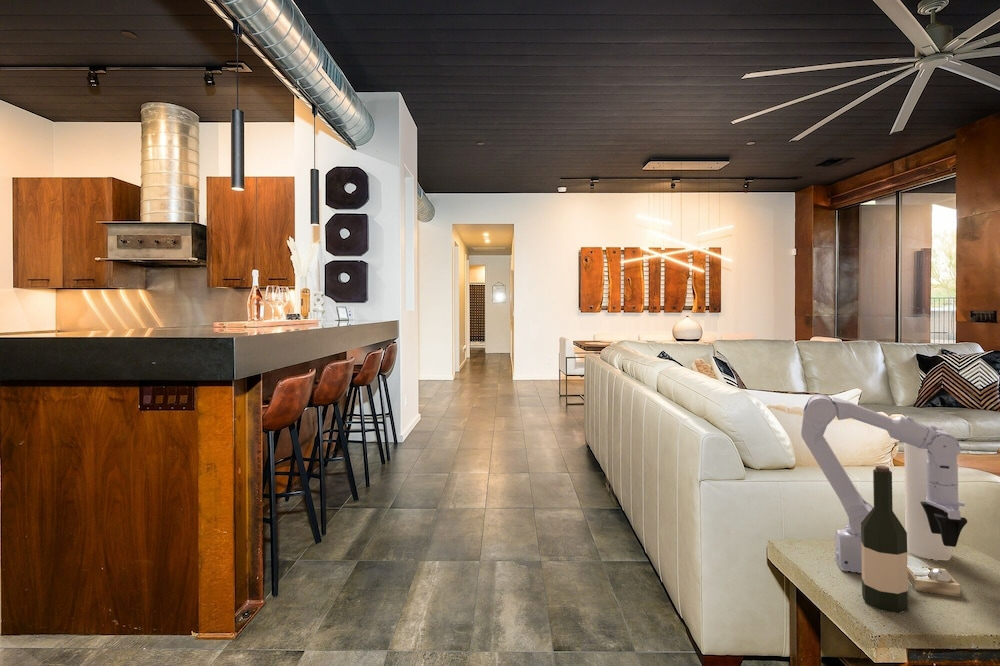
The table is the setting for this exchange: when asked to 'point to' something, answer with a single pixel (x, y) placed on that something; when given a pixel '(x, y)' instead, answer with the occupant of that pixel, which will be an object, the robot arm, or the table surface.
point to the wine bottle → (884, 550)
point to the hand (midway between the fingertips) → (943, 539)
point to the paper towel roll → (919, 508)
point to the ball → (939, 575)
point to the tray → (934, 584)
